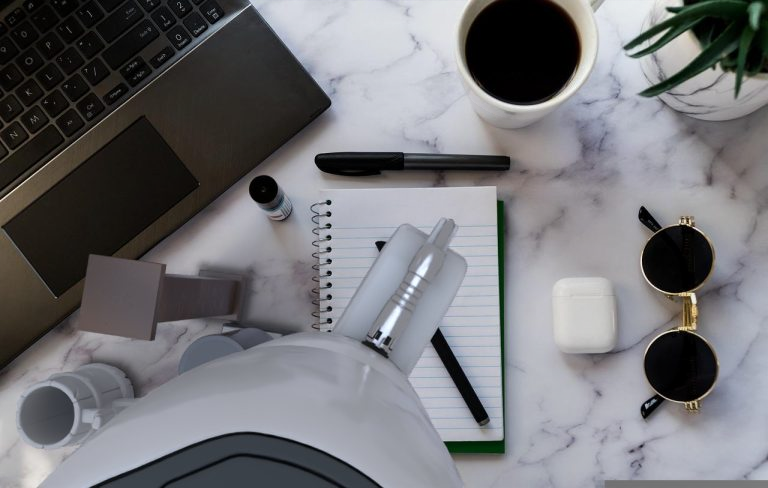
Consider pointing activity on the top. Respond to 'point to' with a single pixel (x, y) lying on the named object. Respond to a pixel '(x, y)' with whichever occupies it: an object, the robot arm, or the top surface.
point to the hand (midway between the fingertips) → (333, 400)
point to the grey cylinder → (221, 346)
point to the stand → (153, 297)
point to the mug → (72, 405)
